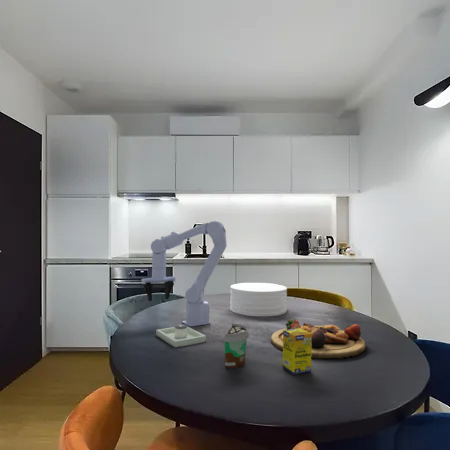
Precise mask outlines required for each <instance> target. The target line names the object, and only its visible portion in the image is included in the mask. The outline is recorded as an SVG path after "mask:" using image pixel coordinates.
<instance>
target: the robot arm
mask: <svg viewBox="0 0 450 450" xmlns="http://www.w3.org/2000/svg"><path fill="white" fill-rule="evenodd" d="M198 235H208V236H209V237H210V238H211V241H212V244H213V248H212V250H211V251H210V253H209V255H208V257H207V258H206V260H205V262H204V264H203V266H202V268H201V270H200V271H199V274H198V276H197V277H196V279H195V280H194V282H193V284H192V285H191V287H190V288H188V289H187V290H186V291H185V320H183V321H181V322H182V323H181V324H185V325H187V326H188V327H197V326H202V325H210V324H211V321H210V305H209V302H208V301H206V300H203V296H204V294H205V288H206V286H207V284H208V281H209V280H210V278H211V276H212V274H213V273H214V272H215V271H214V270H215V269H216V267H217V265H218V263H219V262H220V260H221V257H222V256H223V254H224V252H225V251H226V249H227V234H226V228H225V226H224V224H223V223H221V222H220V221H216V220H212V221H210V222H206V223H202V224H199V225H197V226H195V227H192V228H190V229H188V230H185V231H183V232H181V233H180V232H178V231H172V232H170V234H168V235H165V236H163V235H162V236H161V237H160V238H159V239H158V238H157V239H154V240H153V241H152V242H151V244H150V250H151V251H152V259H151V260H152V261H151V262H152V263H151V265H152V266H151V267H152V269H151V277H148V278H141V284H142V285H143V287H144V289H145V292H146V295H147V301H148V302H152V300H153V288H154V285H153V284H156V283H157V284H158V283H164V299H165V300H169V299H170V294H171V292H172V289H173V287H174V285H175V283H176V276H167V275H166V274H167V270H166V269H167V251H169V250H171V249H174V248H176V247H178V246H181V245H183V243H184V241H185V240H187V239H190V238H194V237H196V236H198Z"/></svg>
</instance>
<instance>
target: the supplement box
mask: <svg viewBox="0 0 450 450" xmlns="http://www.w3.org/2000/svg"><path fill="white" fill-rule="evenodd" d="M311 349H312V333H310V332H308V331H305V330H303V329H301V328H298V329H290V330H283V351H282V369H284V370H285V371H287V372H288V373H290V374H292V375H293V376H296V375H301V374H307V372H309V373H312V358H311Z"/></svg>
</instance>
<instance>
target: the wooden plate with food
mask: <svg viewBox="0 0 450 450" xmlns="http://www.w3.org/2000/svg"><path fill="white" fill-rule="evenodd" d="M285 327H286V328H281V329H278V330H277V331H275V332H273V333H272V335H271V336H270V342H271V344H272V345H273V347H275V348H276V347H277V349H278V350H280V351H282V350H283V330H290V329H298V328H301V329H303V330H305V331H308V332H310V333H312V349H311V357H312V358H311V359H320V358H339V359H344V358H343V357H346V358H350V356H352V357H354V356H357V355H360V354H362V353H363V352H364V351H365V350H366V342H365V340H364V339H363V338H362V337H361V335H362V333H361V327H360V325H359V324H357V323H355V324H354V323H353V324H349V325H348V326H346V327H345V328H343V330H342V329H341V328H340V327H339V326H337V325H336V324H335V325H334V324H325V325H313V324H310V323H308V322H303V325H300V322H299V320H297V319H296V318H292V319H288V320H287V323H285Z"/></svg>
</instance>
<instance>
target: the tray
mask: <svg viewBox="0 0 450 450" xmlns="http://www.w3.org/2000/svg"><path fill="white" fill-rule="evenodd" d="M155 332H156V333H155V335H156V337H158V338H160V339H161V340H162V341H164V342H166V343H168V344H169V345H170V346H172V347H174V348H180V347H181V348H182V347H184V346H190V345H197V344H201V343H206V342H207V335H206V334H203V333H202V332H200V331H197V330H195V329H194V328H191V326H188V325H187V337H186V338H183V339H177V338H175V337H174V335H175V326H173V327H172V326H171V327H166V328H165V327H164V328H160V329H156V331H155Z"/></svg>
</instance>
